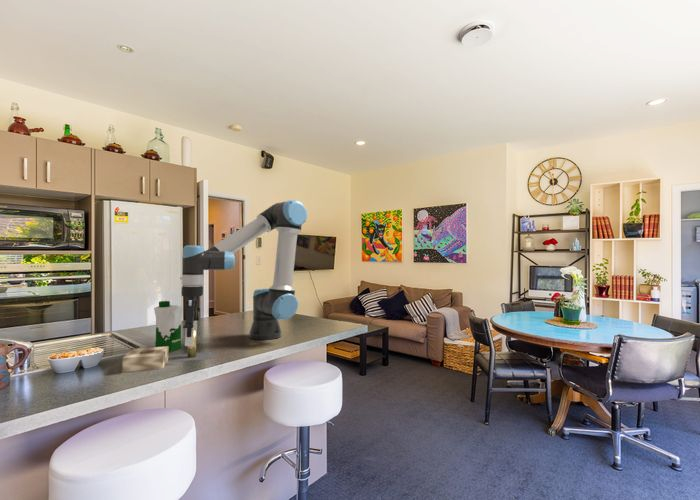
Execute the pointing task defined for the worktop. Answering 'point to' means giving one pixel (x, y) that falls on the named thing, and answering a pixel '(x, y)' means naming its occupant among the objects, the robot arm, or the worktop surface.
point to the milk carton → (168, 325)
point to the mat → (185, 358)
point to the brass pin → (192, 347)
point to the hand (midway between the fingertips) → (191, 341)
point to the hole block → (145, 359)
